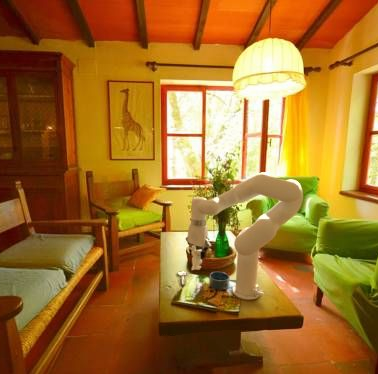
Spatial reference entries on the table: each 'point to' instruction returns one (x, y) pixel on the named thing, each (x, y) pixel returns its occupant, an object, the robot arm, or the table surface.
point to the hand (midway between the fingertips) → (197, 256)
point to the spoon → (182, 276)
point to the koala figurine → (196, 258)
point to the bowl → (219, 280)
